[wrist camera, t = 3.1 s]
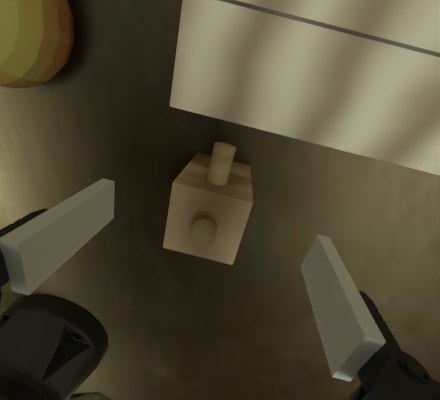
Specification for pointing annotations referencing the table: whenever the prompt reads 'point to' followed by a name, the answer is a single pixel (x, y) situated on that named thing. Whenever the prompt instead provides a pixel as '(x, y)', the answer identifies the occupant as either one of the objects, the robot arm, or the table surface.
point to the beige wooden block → (210, 206)
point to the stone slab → (90, 397)
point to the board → (318, 72)
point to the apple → (34, 40)
